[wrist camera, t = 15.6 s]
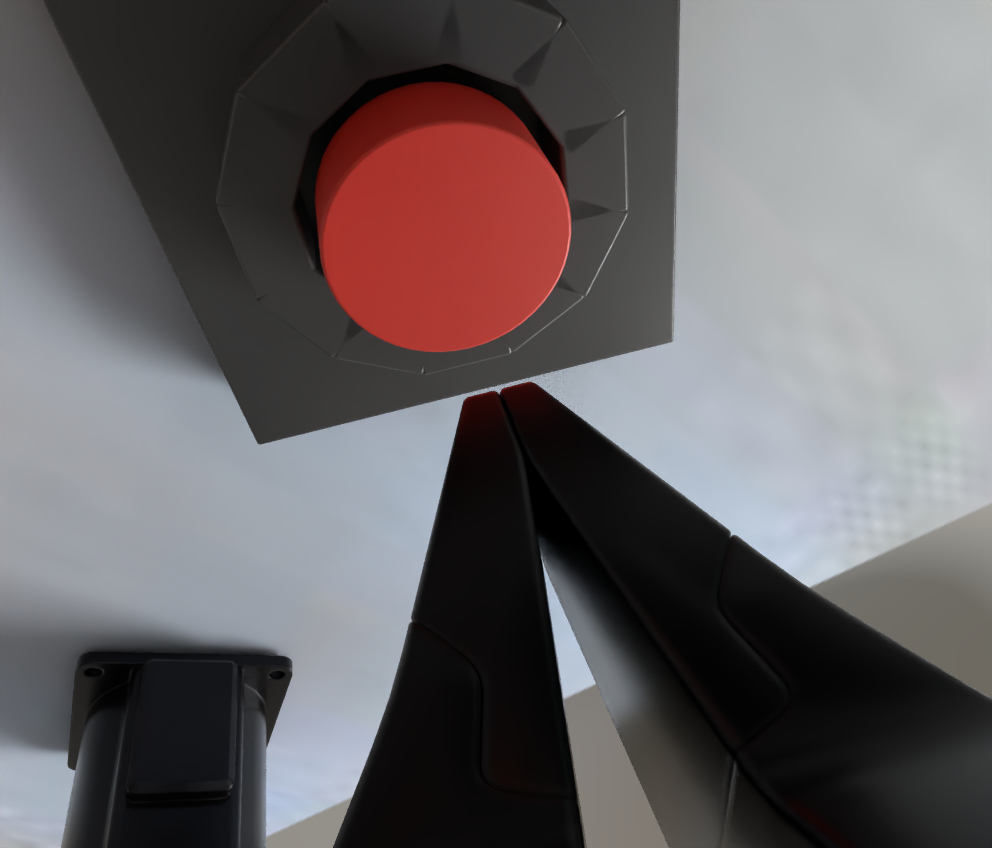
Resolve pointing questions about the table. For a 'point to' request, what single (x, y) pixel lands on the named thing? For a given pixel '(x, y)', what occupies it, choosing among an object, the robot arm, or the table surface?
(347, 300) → the button
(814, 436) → the table surface
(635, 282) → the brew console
